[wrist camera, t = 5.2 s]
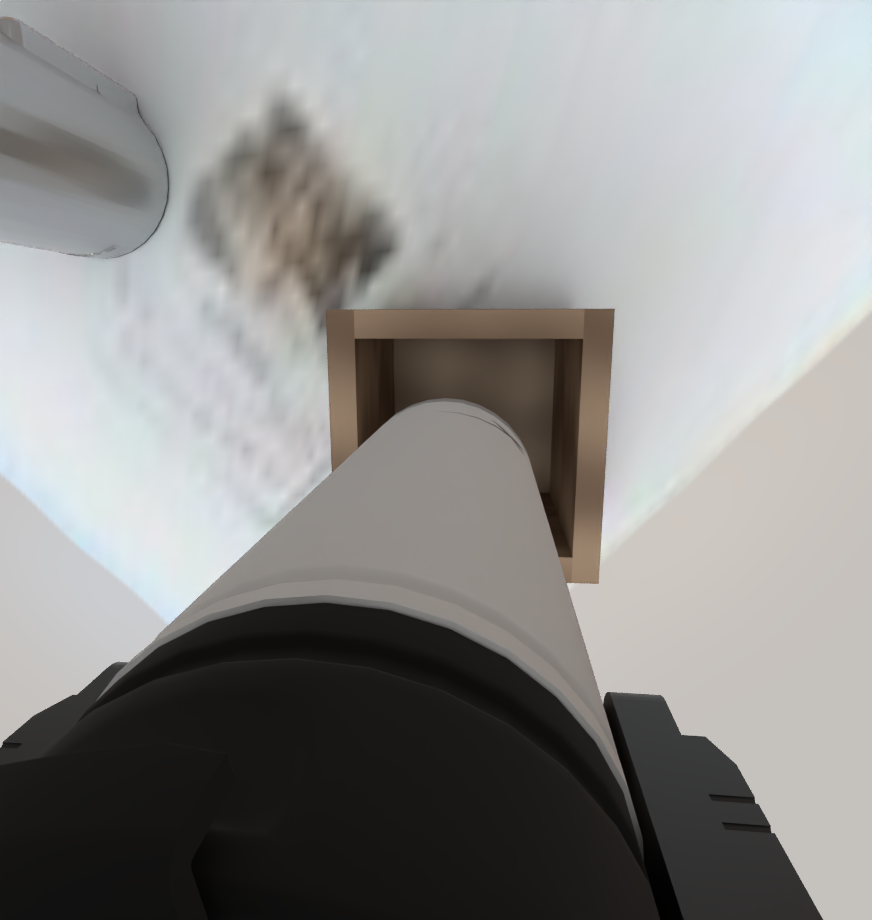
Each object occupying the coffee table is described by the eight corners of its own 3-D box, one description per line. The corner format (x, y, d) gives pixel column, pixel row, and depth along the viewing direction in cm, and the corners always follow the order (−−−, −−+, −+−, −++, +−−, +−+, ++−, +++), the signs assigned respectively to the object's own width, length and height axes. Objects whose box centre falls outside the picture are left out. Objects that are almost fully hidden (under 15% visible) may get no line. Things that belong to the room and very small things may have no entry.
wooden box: (376, 314, 38) (325, 309, 26) (575, 313, 37) (614, 308, 25) (380, 503, 41) (335, 575, 29) (566, 507, 40) (598, 583, 28)
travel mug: (513, 371, 22) (726, 767, 2) (546, 547, 23) (862, 1774, 4) (343, 406, 23) (-596, 926, 3) (383, 575, 24) (-97, 1706, 4)
